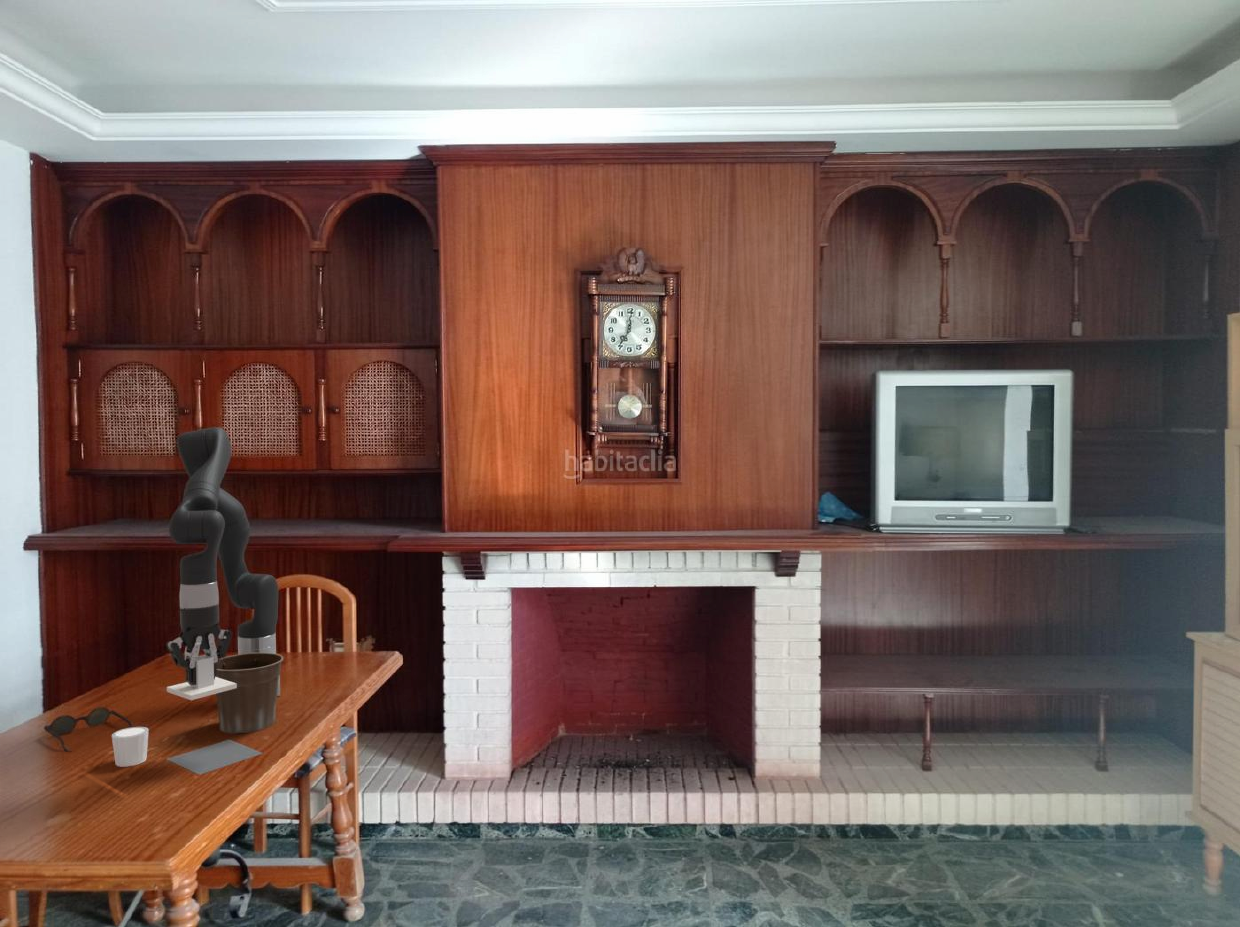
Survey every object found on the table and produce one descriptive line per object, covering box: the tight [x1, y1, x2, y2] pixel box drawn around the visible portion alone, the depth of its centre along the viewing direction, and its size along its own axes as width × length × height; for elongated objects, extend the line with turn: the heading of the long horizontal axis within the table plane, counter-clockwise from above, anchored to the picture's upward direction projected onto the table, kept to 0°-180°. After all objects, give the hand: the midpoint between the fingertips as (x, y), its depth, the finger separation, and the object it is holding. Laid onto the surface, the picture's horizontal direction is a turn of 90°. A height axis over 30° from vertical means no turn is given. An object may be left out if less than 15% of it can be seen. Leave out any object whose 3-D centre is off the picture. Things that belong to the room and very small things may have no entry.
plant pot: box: [215, 653, 284, 735], centre depth 201 cm, size 16×16×16 cm
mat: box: [166, 739, 264, 776], centre depth 181 cm, size 14×14×1 cm
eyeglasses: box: [43, 706, 133, 753], centre depth 195 cm, size 15×15×5 cm
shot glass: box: [111, 726, 150, 768], centre depth 179 cm, size 7×7×7 cm
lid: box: [166, 654, 237, 701], centre depth 180 cm, size 10×10×7 cm
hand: (201, 681), depth 180 cm, fingers closed on lid, 3 cm apart
